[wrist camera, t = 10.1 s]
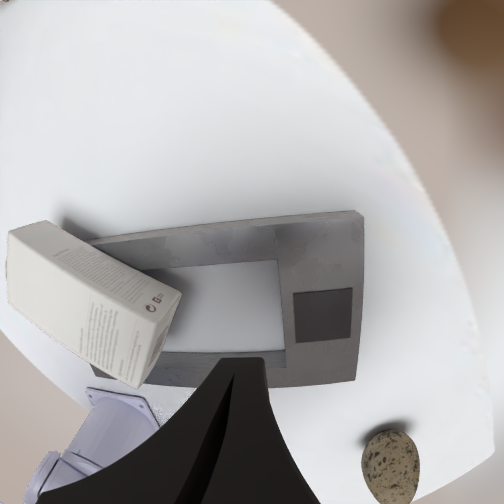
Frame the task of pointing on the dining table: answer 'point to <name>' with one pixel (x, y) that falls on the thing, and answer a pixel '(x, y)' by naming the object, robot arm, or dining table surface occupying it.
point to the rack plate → (291, 286)
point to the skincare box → (89, 300)
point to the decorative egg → (391, 467)
